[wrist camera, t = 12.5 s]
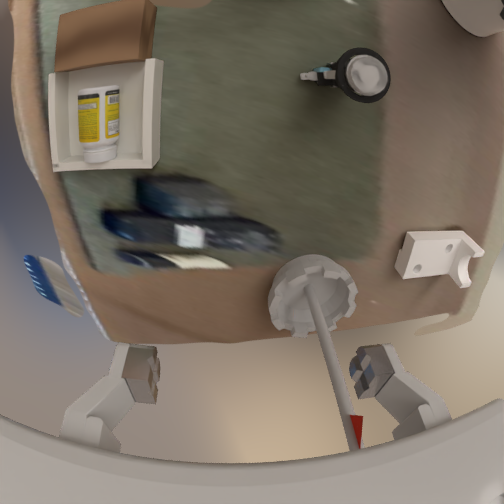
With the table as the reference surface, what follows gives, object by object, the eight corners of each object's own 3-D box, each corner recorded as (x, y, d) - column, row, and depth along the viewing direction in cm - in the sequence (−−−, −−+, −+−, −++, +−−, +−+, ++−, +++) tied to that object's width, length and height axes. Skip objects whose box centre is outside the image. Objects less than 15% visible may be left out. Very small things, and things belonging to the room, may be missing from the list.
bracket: (459, 227, 41) (484, 251, 35) (448, 261, 45) (469, 286, 39) (403, 228, 41) (428, 255, 34) (393, 265, 44) (413, 295, 38)
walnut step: (79, 20, 21) (59, 15, 17) (157, 7, 22) (145, -3, 18) (75, 71, 25) (54, 72, 20) (151, 61, 26) (138, 58, 22)
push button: (301, 97, 30) (329, 104, 21) (296, 54, 27) (323, 44, 18) (354, 95, 29) (397, 104, 21) (351, 54, 27) (393, 49, 18)
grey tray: (65, 72, 24) (48, 74, 21) (163, 60, 26) (155, 58, 23) (68, 161, 31) (53, 171, 28) (159, 158, 32) (151, 168, 29)
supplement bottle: (75, 90, 24) (77, 159, 28) (81, 89, 21) (83, 167, 26) (114, 85, 27) (114, 151, 31) (125, 84, 24) (125, 159, 28)
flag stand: (344, 306, 48) (404, 469, 23) (269, 319, 48) (297, 498, 23) (349, 242, 41) (449, 433, 16) (260, 255, 41) (297, 482, 16)
